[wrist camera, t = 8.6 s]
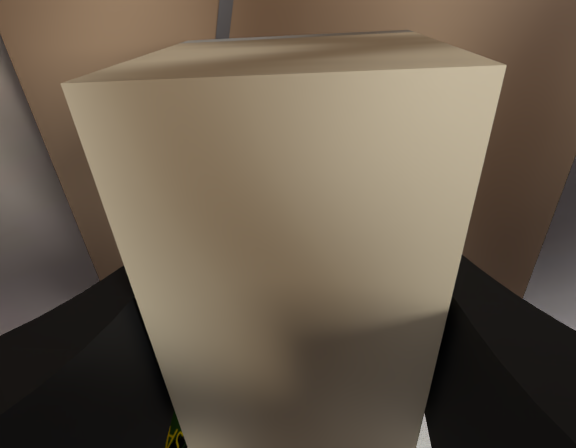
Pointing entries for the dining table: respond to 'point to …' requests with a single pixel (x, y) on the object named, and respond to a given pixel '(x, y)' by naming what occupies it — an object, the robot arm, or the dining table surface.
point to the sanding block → (292, 223)
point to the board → (326, 20)
